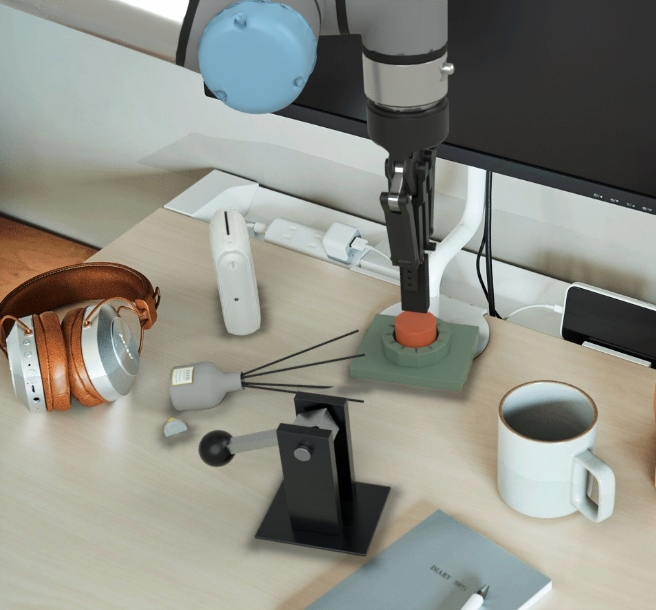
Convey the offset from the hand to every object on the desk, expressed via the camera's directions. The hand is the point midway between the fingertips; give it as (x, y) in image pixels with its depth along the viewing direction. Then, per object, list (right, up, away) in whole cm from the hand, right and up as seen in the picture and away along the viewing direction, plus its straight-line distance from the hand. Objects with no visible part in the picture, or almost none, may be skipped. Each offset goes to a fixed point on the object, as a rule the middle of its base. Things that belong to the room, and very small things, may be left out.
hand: (415, 307), depth 97 cm
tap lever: (-11, -12, -18) cm, 24 cm away
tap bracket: (-7, -19, -14) cm, 25 cm away
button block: (0, -6, +4) cm, 7 cm away
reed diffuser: (-15, -10, -2) cm, 18 cm away
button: (0, -3, +2) cm, 4 cm away
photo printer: (-21, -1, +12) cm, 24 cm away
